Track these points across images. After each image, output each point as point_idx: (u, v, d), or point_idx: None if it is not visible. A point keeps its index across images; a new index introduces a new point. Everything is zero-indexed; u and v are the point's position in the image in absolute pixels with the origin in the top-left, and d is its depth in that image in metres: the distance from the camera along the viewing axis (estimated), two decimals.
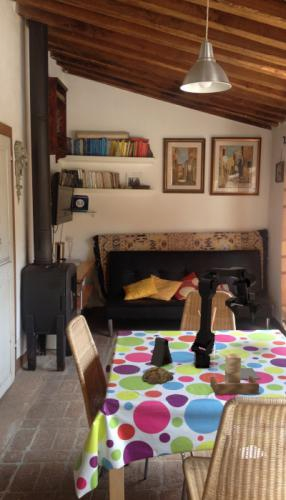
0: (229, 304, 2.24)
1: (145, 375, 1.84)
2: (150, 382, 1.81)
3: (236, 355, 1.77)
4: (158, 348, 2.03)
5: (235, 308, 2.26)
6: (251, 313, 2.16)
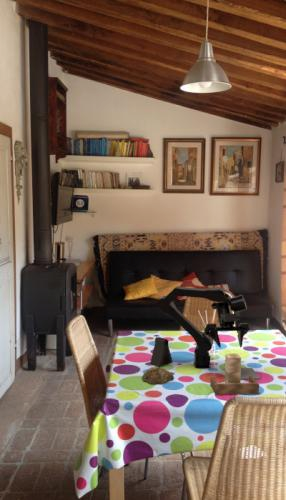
0: None
1: (145, 375, 1.84)
2: (150, 382, 1.81)
3: (236, 355, 1.77)
4: (158, 348, 2.03)
5: (239, 335, 1.90)
6: None
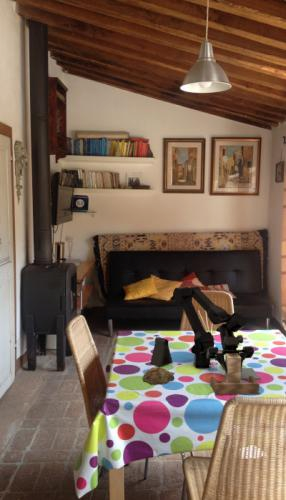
0: None
1: (146, 375, 1.84)
2: (151, 382, 1.80)
3: (236, 355, 1.77)
4: (158, 348, 2.03)
5: None
6: None
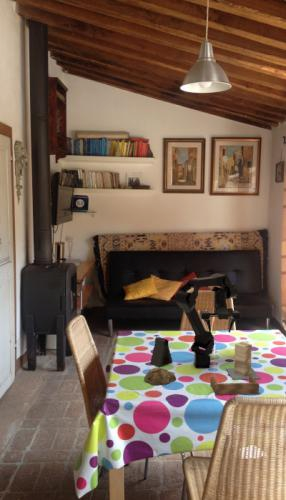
0: None
1: (147, 376, 1.83)
2: (152, 383, 1.80)
3: (245, 343, 1.91)
4: (158, 348, 2.03)
5: (229, 321, 2.09)
6: None
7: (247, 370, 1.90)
